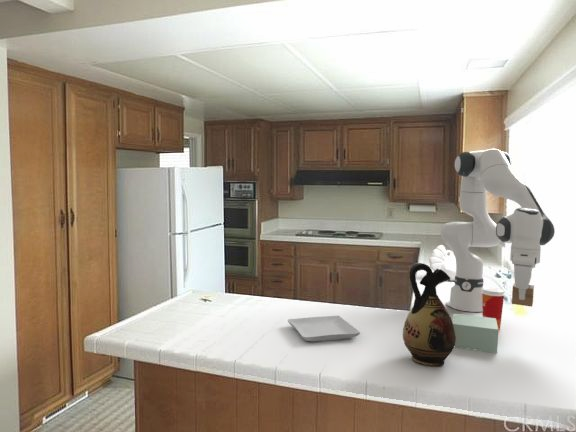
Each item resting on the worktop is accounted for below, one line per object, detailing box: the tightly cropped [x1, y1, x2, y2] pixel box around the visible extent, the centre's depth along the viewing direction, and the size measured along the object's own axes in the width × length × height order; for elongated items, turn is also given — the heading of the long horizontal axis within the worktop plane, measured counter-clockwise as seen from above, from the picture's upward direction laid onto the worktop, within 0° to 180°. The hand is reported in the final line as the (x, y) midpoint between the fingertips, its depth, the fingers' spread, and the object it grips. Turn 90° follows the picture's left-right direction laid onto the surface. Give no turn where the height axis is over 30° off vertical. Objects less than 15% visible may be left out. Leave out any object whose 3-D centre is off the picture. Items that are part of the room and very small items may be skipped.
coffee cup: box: [481, 287, 506, 331], centre depth 170 cm, size 8×8×15 cm
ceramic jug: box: [402, 262, 456, 367], centre depth 135 cm, size 17×15×30 cm
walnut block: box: [511, 282, 535, 307], centre depth 149 cm, size 6×6×6 cm
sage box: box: [452, 313, 499, 354], centre depth 153 cm, size 14×14×8 cm
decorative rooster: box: [428, 244, 456, 282], centre depth 265 cm, size 25×16×25 cm, turn 94°
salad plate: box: [287, 315, 361, 343], centre depth 160 cm, size 21×21×3 cm
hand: (522, 297), depth 149 cm, fingers closed on walnut block, 6 cm apart
